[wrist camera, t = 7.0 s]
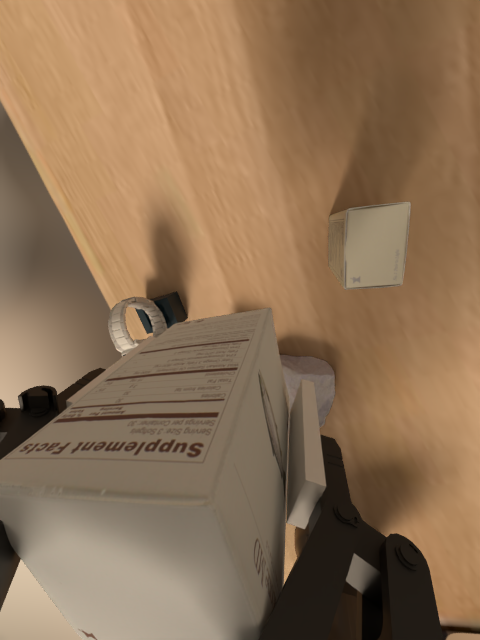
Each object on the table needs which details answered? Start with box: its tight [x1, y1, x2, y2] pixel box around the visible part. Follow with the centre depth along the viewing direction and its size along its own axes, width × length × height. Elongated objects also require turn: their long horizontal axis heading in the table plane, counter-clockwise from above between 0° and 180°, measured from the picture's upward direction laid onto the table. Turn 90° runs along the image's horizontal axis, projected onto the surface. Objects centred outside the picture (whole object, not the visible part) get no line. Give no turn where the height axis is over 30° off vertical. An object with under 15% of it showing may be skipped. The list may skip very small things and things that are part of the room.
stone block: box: [280, 355, 335, 428], centre depth 37 cm, size 12×5×10 cm
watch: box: [108, 291, 188, 356], centre depth 33 cm, size 6×8×11 cm
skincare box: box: [328, 202, 411, 290], centre depth 24 cm, size 6×4×12 cm
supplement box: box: [0, 308, 290, 640], centre depth 12 cm, size 7×7×13 cm
